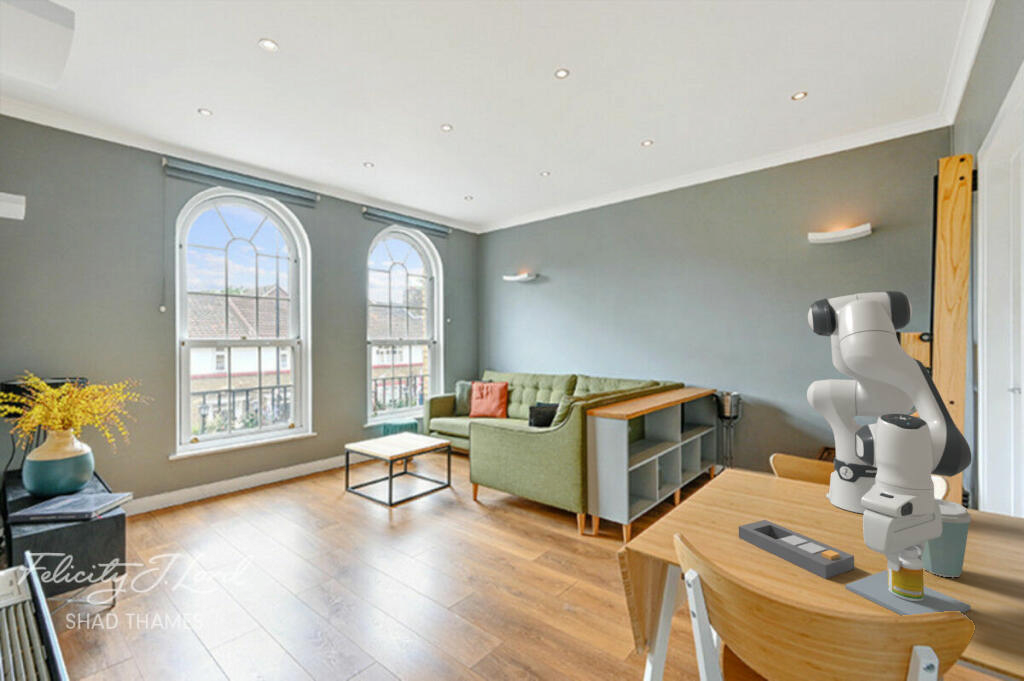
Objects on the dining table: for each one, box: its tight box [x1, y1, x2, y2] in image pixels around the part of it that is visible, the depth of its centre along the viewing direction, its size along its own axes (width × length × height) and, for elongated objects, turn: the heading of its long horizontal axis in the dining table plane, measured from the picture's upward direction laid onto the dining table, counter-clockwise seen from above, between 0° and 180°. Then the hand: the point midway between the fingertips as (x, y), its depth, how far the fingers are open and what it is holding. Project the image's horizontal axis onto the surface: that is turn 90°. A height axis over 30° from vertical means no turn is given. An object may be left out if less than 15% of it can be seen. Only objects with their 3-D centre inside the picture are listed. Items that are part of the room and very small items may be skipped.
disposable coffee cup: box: [922, 498, 972, 579], centre depth 98 cm, size 11×11×15 cm
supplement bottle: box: [886, 546, 924, 602], centre depth 88 cm, size 5×5×10 cm
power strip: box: [738, 519, 855, 580], centre depth 108 cm, size 10×22×4 cm, turn 23°
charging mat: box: [845, 569, 971, 616], centre depth 88 cm, size 14×14×1 cm
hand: (905, 565), depth 88 cm, fingers closed on supplement bottle, 5 cm apart
